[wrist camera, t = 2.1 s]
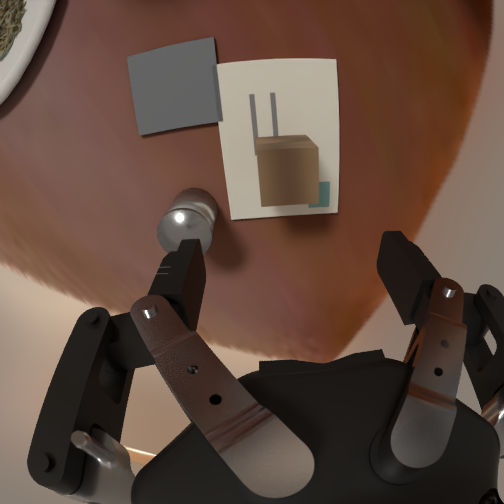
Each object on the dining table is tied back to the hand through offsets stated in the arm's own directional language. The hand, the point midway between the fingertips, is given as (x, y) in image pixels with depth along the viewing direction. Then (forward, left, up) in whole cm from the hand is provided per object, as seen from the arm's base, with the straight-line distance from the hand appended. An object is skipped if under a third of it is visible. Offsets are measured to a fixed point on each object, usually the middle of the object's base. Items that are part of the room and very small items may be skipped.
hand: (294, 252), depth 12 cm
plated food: (+36, -29, -19) cm, 50 cm away
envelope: (-1, -1, -19) cm, 19 cm away
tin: (+9, +6, -19) cm, 22 cm away
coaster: (+9, -8, -19) cm, 22 cm away
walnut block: (-1, +1, -18) cm, 18 cm away
